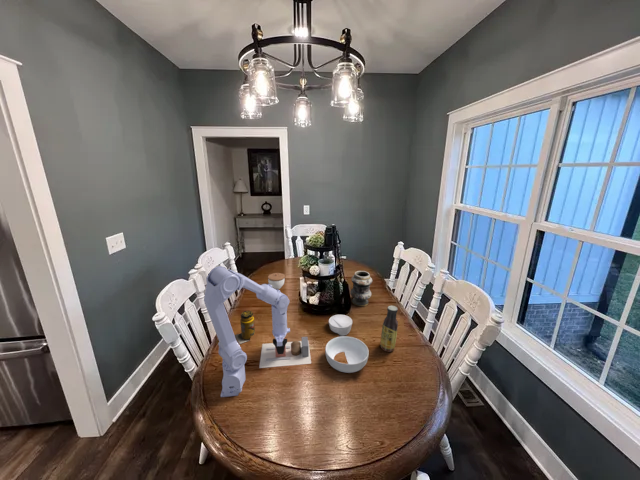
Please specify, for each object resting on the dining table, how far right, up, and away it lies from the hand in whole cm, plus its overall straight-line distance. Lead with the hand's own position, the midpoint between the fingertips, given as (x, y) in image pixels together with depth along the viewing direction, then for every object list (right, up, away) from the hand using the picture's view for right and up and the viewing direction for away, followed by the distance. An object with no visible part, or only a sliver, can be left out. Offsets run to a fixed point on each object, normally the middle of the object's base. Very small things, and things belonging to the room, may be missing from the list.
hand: (280, 349), depth 106 cm
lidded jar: (-12, +14, +63) cm, 65 cm away
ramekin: (+26, +1, +19) cm, 32 cm away
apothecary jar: (+40, +9, +45) cm, 60 cm away
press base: (+2, -3, +1) cm, 4 cm away
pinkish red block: (0, -2, +1) cm, 2 cm away
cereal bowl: (+27, -5, -3) cm, 27 cm away
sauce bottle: (+46, -2, +7) cm, 46 cm away
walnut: (+6, -2, +1) cm, 6 cm away
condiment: (-18, 0, +13) cm, 22 cm away
